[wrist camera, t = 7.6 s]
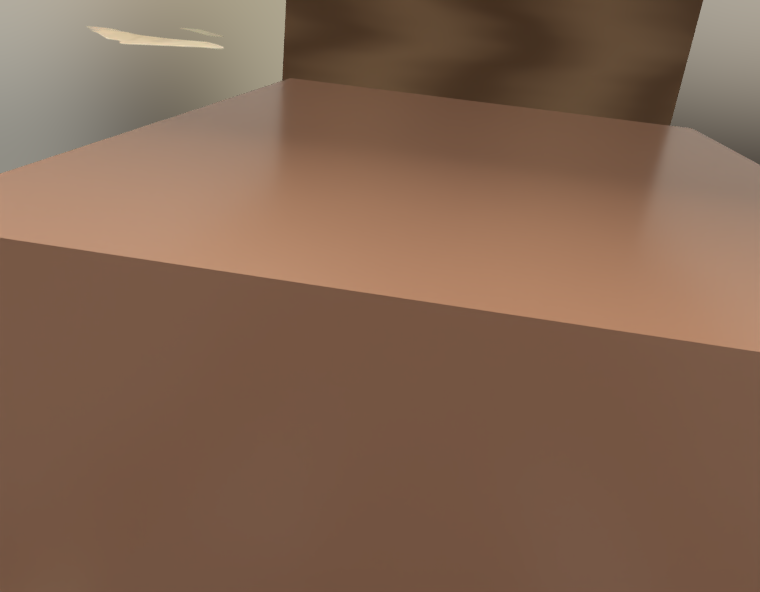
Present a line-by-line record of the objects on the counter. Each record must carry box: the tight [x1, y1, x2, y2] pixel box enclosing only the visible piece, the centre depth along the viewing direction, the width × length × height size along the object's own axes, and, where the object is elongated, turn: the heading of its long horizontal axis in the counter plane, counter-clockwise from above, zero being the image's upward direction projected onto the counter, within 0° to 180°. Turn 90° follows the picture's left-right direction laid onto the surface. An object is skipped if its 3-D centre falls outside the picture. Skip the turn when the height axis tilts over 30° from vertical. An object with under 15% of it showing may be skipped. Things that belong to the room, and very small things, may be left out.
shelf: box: [282, 0, 703, 126], centre depth 20 cm, size 14×16×24 cm
